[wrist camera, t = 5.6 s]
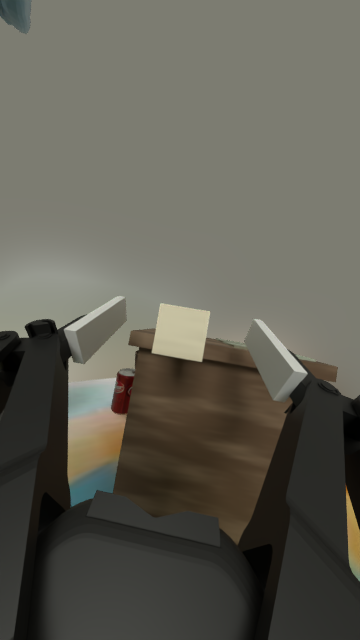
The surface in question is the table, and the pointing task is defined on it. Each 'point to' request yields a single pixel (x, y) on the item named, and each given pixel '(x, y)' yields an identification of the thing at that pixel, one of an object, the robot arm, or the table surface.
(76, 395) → the table surface
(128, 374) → the soda can
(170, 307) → the cream flat bar
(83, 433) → the table surface
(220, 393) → the wooden block with lid
